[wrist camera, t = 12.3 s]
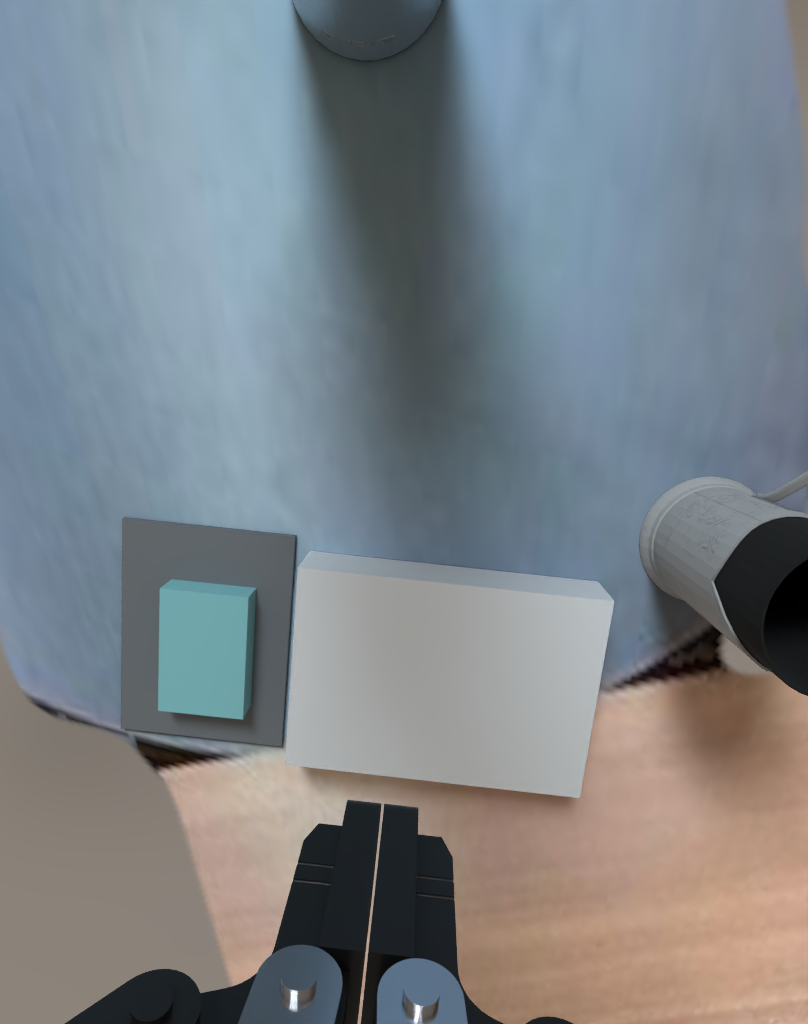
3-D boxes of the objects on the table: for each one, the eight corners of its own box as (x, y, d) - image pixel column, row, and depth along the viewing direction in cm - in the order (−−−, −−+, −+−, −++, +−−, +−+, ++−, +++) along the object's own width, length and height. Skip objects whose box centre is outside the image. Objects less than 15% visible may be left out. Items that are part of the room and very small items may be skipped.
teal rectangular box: (248, 597, 43) (256, 588, 45) (159, 588, 43) (171, 579, 45) (242, 719, 45) (250, 705, 46) (158, 710, 45) (169, 696, 47)
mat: (125, 517, 44) (122, 518, 44) (296, 535, 44) (295, 536, 44) (123, 725, 48) (121, 728, 47) (282, 743, 47) (281, 746, 47)
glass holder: (612, 554, 44) (705, 643, 29) (754, 381, 41) (935, 382, 26) (712, 626, 44) (851, 748, 30) (857, 460, 42) (1090, 504, 27)
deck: (309, 550, 44) (297, 567, 40) (597, 581, 44) (614, 601, 40) (297, 732, 47) (284, 764, 43) (567, 763, 47) (579, 798, 43)
